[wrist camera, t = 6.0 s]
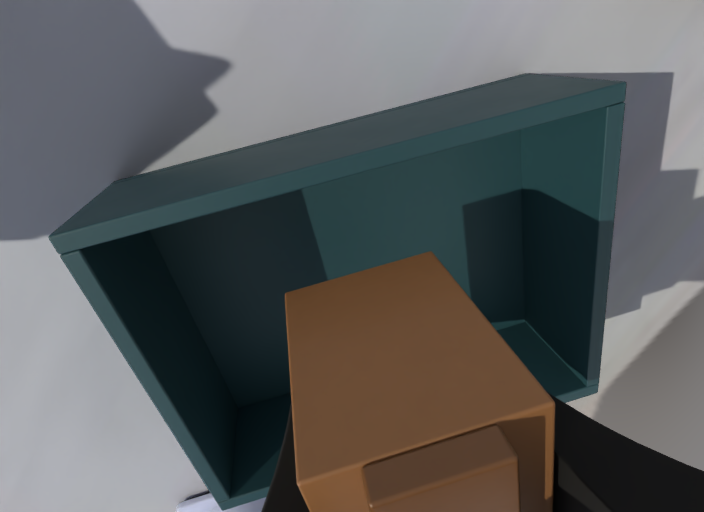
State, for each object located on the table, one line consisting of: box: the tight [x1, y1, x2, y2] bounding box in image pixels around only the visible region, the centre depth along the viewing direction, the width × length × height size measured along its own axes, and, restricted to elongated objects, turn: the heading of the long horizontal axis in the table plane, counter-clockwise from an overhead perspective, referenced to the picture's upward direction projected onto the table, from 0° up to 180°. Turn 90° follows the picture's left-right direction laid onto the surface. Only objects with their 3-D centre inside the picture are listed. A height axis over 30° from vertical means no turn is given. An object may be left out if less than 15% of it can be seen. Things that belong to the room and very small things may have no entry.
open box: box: [49, 73, 626, 511], centre depth 17 cm, size 13×17×6 cm
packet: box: [285, 251, 555, 512], centre depth 11 cm, size 4×7×7 cm, turn 13°
